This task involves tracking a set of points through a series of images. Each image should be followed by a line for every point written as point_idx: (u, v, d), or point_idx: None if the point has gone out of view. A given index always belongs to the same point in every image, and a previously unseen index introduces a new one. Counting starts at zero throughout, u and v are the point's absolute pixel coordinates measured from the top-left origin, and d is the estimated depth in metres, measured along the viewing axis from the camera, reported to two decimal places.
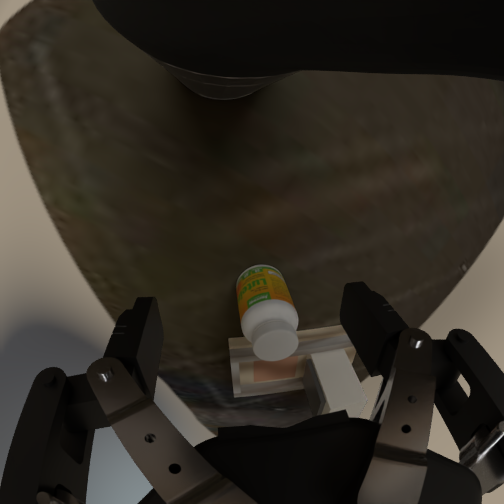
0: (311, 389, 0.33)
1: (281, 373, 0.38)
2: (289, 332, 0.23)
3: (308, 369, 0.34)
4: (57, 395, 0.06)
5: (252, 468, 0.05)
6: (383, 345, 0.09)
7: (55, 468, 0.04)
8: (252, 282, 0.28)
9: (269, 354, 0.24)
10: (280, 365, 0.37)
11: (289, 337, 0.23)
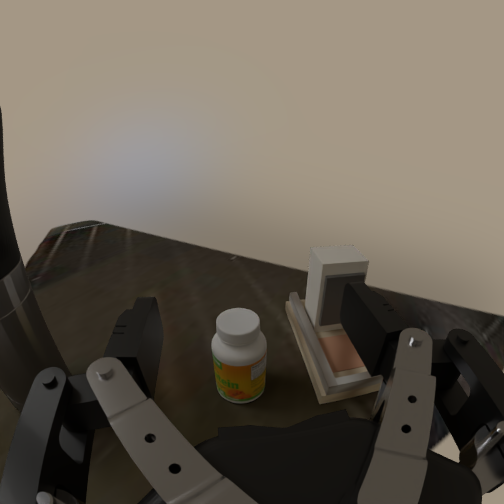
0: (339, 301, 0.34)
1: None
2: (220, 314, 0.27)
3: (325, 317, 0.34)
4: (57, 395, 0.06)
5: (252, 468, 0.05)
6: (383, 345, 0.09)
7: (55, 468, 0.04)
8: (217, 377, 0.27)
9: (248, 323, 0.25)
10: (343, 347, 0.33)
11: (226, 313, 0.27)
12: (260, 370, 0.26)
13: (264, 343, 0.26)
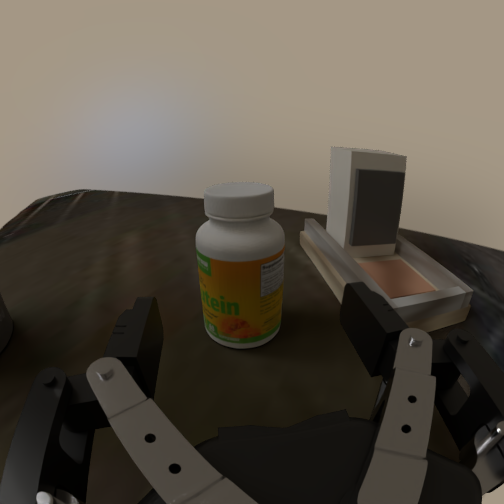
0: (375, 208, 0.24)
1: (401, 270, 0.24)
2: (211, 186, 0.17)
3: (358, 232, 0.25)
4: (57, 395, 0.06)
5: (252, 468, 0.05)
6: (383, 345, 0.09)
7: (55, 468, 0.04)
8: (204, 299, 0.18)
9: (255, 189, 0.16)
10: (386, 274, 0.23)
11: (221, 185, 0.17)
12: (276, 281, 0.17)
13: (281, 230, 0.17)
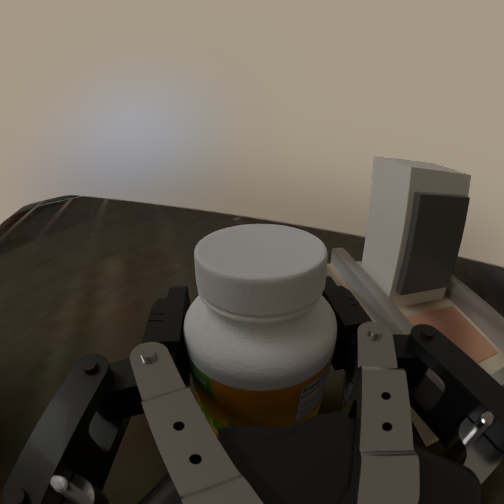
0: (433, 245, 0.16)
1: (456, 324, 0.16)
2: (208, 235, 0.09)
3: (410, 277, 0.17)
4: (101, 381, 0.06)
5: (252, 468, 0.05)
6: (343, 338, 0.09)
7: (78, 454, 0.05)
8: None
9: (295, 251, 0.08)
10: (441, 332, 0.16)
11: (226, 233, 0.09)
12: (319, 395, 0.09)
13: (334, 318, 0.09)
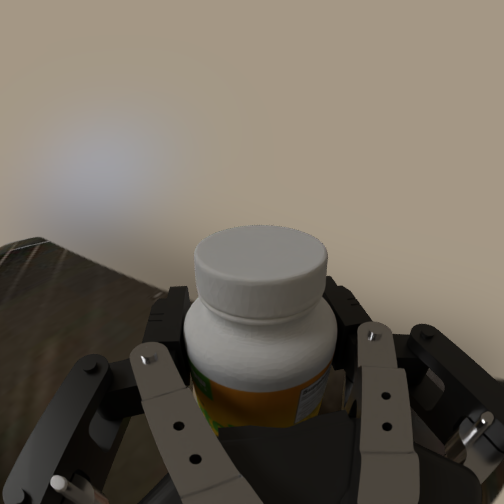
0: None
1: None
2: (208, 236, 0.09)
3: None
4: (101, 381, 0.06)
5: (252, 468, 0.05)
6: (343, 338, 0.09)
7: (78, 454, 0.05)
8: None
9: (295, 253, 0.08)
10: None
11: (226, 234, 0.09)
12: (319, 396, 0.09)
13: (334, 320, 0.09)
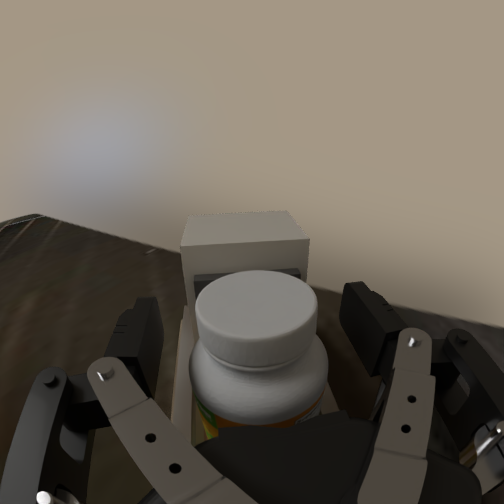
0: None
1: None
2: (207, 286, 0.10)
3: None
4: (58, 395, 0.06)
5: (252, 468, 0.05)
6: (382, 345, 0.09)
7: (55, 468, 0.04)
8: (209, 437, 0.11)
9: (288, 305, 0.09)
10: None
11: (224, 283, 0.10)
12: None
13: (325, 357, 0.10)
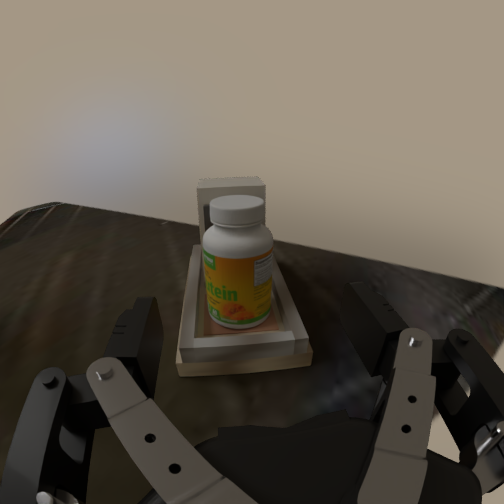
0: None
1: None
2: None
3: None
4: (57, 395, 0.06)
5: (252, 468, 0.05)
6: (383, 345, 0.09)
7: (55, 468, 0.04)
8: (209, 289, 0.22)
9: (250, 202, 0.20)
10: None
11: (222, 198, 0.22)
12: (266, 274, 0.21)
13: (270, 234, 0.21)
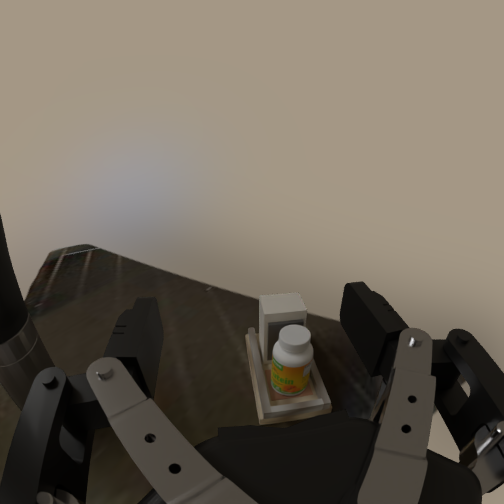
0: None
1: None
2: None
3: (271, 354, 0.41)
4: (57, 395, 0.06)
5: (252, 468, 0.05)
6: (383, 345, 0.09)
7: (55, 468, 0.04)
8: (275, 377, 0.36)
9: (303, 336, 0.34)
10: None
11: (285, 329, 0.36)
12: (309, 369, 0.35)
13: (312, 349, 0.35)
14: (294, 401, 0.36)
